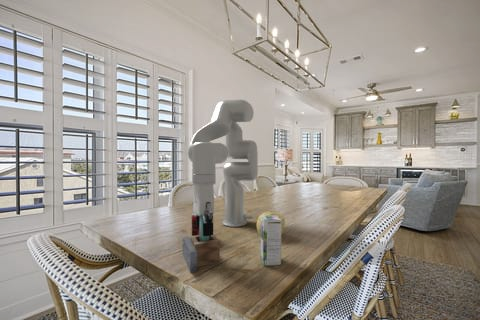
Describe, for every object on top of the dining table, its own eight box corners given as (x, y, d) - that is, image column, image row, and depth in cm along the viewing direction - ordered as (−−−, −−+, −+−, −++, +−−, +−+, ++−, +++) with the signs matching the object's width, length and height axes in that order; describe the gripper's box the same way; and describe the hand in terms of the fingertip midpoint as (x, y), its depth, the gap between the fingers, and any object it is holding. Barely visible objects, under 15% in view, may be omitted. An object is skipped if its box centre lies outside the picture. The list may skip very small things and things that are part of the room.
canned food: (213, 237, 98) (213, 211, 98) (205, 243, 91) (205, 216, 91) (198, 235, 101) (197, 210, 101) (188, 241, 93) (188, 214, 93)
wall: (188, 253, 82) (188, 236, 82) (196, 271, 69) (196, 251, 69) (182, 254, 81) (182, 237, 81) (190, 272, 68) (190, 252, 68)
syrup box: (260, 258, 78) (260, 215, 78) (277, 257, 78) (277, 214, 78) (263, 266, 72) (263, 219, 72) (282, 265, 73) (282, 219, 72)
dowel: (207, 244, 79) (207, 212, 79) (210, 248, 76) (210, 214, 76) (198, 246, 78) (198, 213, 78) (200, 249, 75) (200, 215, 75)
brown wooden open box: (212, 252, 82) (212, 233, 82) (219, 262, 75) (219, 240, 75) (190, 256, 79) (189, 236, 79) (194, 266, 72) (194, 244, 72)
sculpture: (260, 242, 92) (260, 215, 92) (254, 232, 104) (254, 208, 104) (287, 240, 94) (288, 214, 94) (278, 231, 106) (278, 208, 106)
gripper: (188, 177, 83) (188, 225, 83) (198, 182, 67) (198, 241, 67) (208, 177, 86) (208, 222, 86) (223, 181, 70) (223, 237, 70)
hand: (204, 230), depth 77 cm, fingers open, 9 cm apart
